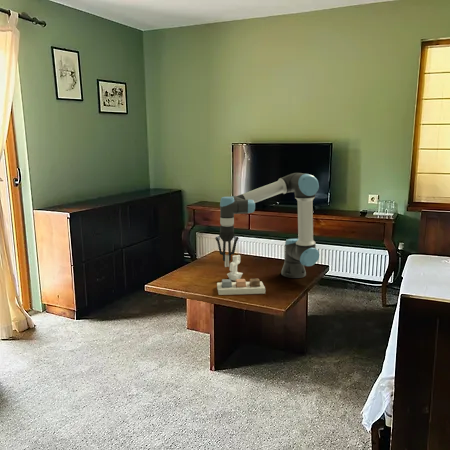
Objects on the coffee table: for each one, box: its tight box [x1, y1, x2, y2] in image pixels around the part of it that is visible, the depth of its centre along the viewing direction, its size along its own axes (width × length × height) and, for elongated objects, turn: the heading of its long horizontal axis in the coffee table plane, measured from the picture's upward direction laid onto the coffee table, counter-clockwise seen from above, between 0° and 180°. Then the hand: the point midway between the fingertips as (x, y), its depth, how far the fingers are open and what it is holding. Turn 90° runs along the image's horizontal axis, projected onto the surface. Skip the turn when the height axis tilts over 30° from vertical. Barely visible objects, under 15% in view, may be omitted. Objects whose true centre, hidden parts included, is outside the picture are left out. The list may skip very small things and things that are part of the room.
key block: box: [216, 281, 266, 296], centre depth 251 cm, size 26×12×3 cm, turn 95°
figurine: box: [226, 254, 244, 282], centre depth 270 cm, size 7×9×15 cm
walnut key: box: [249, 278, 260, 287], centre depth 252 cm, size 5×5×4 cm
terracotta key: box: [235, 278, 247, 287], centre depth 251 cm, size 5×5×4 cm
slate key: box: [221, 278, 233, 288], centre depth 250 cm, size 5×5×4 cm
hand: (226, 266), depth 248 cm, fingers closed
